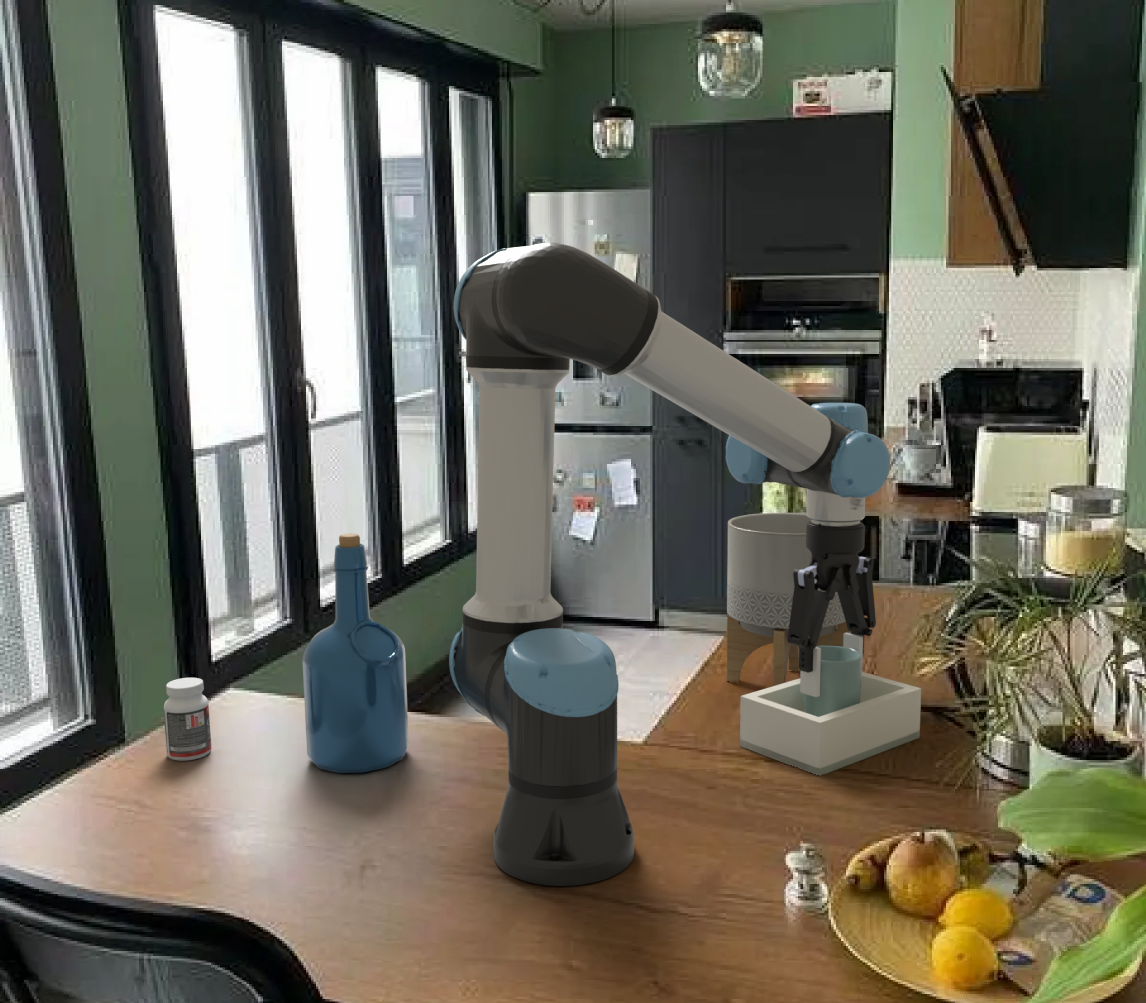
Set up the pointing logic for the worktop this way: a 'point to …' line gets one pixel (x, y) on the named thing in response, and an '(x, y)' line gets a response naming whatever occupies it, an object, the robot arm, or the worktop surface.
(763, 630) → the planter
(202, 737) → the pill bottle
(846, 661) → the cup
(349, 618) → the wine bottle
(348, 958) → the worktop surface
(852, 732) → the open box
